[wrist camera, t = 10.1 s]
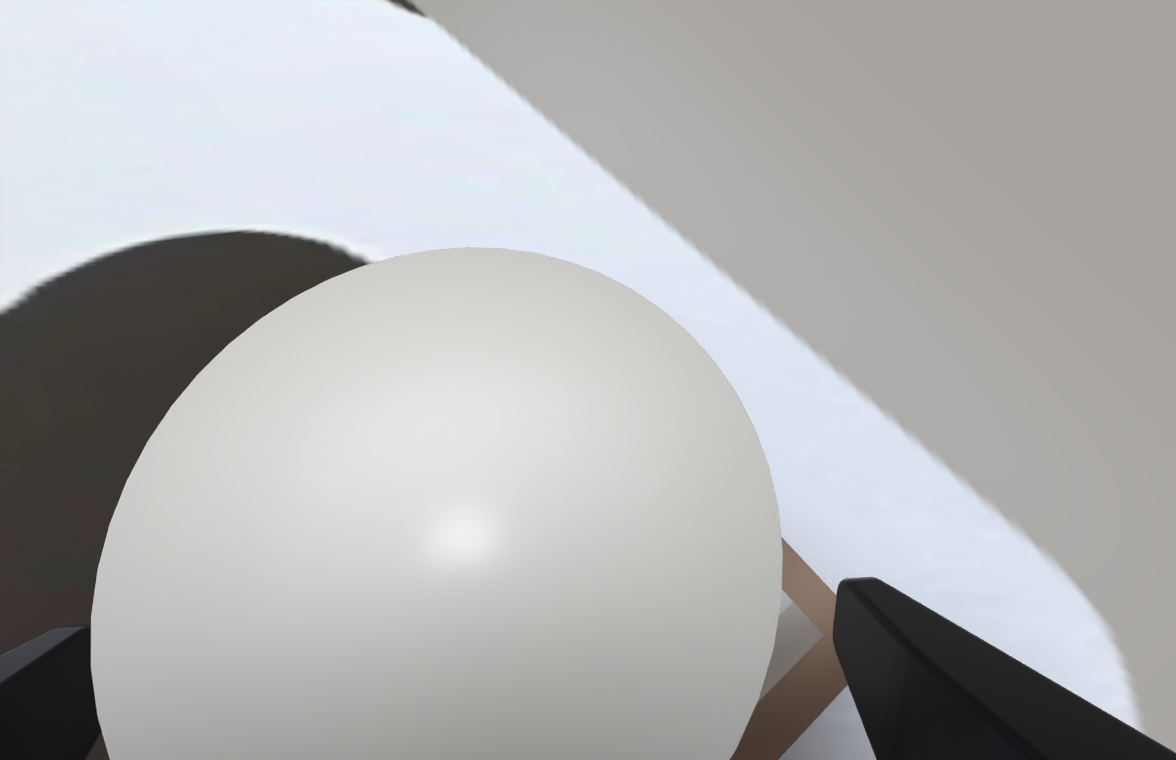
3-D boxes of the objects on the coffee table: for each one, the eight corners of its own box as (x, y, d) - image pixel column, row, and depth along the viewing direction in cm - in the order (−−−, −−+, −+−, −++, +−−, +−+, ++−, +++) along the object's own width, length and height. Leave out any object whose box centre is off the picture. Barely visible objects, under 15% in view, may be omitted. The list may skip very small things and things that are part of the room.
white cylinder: (701, 628, 16) (937, 568, 5) (520, 798, 14) (285, 1260, 3) (564, 460, 18) (520, 162, 7) (392, 592, 16) (-6, 467, 5)
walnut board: (867, 646, 16) (911, 644, 14) (492, 1045, 13) (471, 1127, 11) (582, 338, 21) (581, 299, 19) (246, 575, 17) (194, 563, 15)
